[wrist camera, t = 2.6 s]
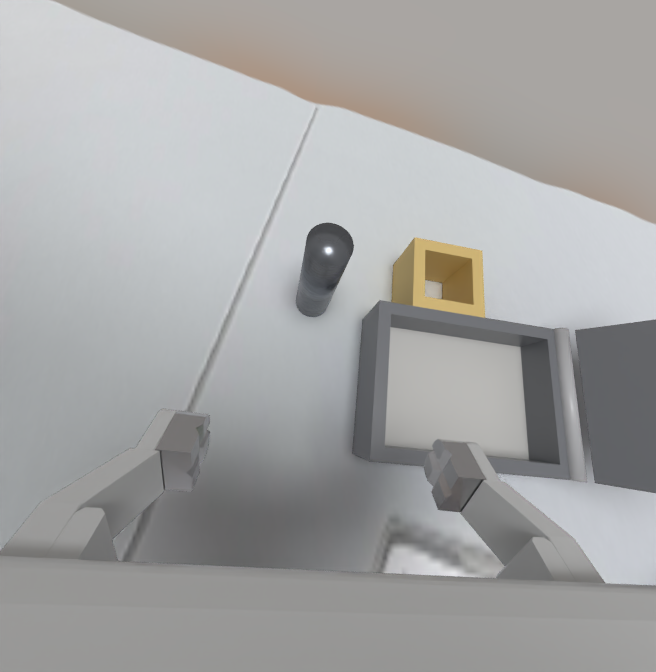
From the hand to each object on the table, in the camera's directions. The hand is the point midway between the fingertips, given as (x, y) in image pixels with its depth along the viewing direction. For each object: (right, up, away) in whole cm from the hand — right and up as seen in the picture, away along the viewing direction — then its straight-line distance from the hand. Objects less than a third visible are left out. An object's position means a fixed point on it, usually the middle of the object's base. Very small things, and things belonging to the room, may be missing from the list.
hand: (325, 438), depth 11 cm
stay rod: (-1, +7, +18) cm, 19 cm away
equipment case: (+11, -2, +17) cm, 20 cm away
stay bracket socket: (+10, +7, +20) cm, 23 cm away
